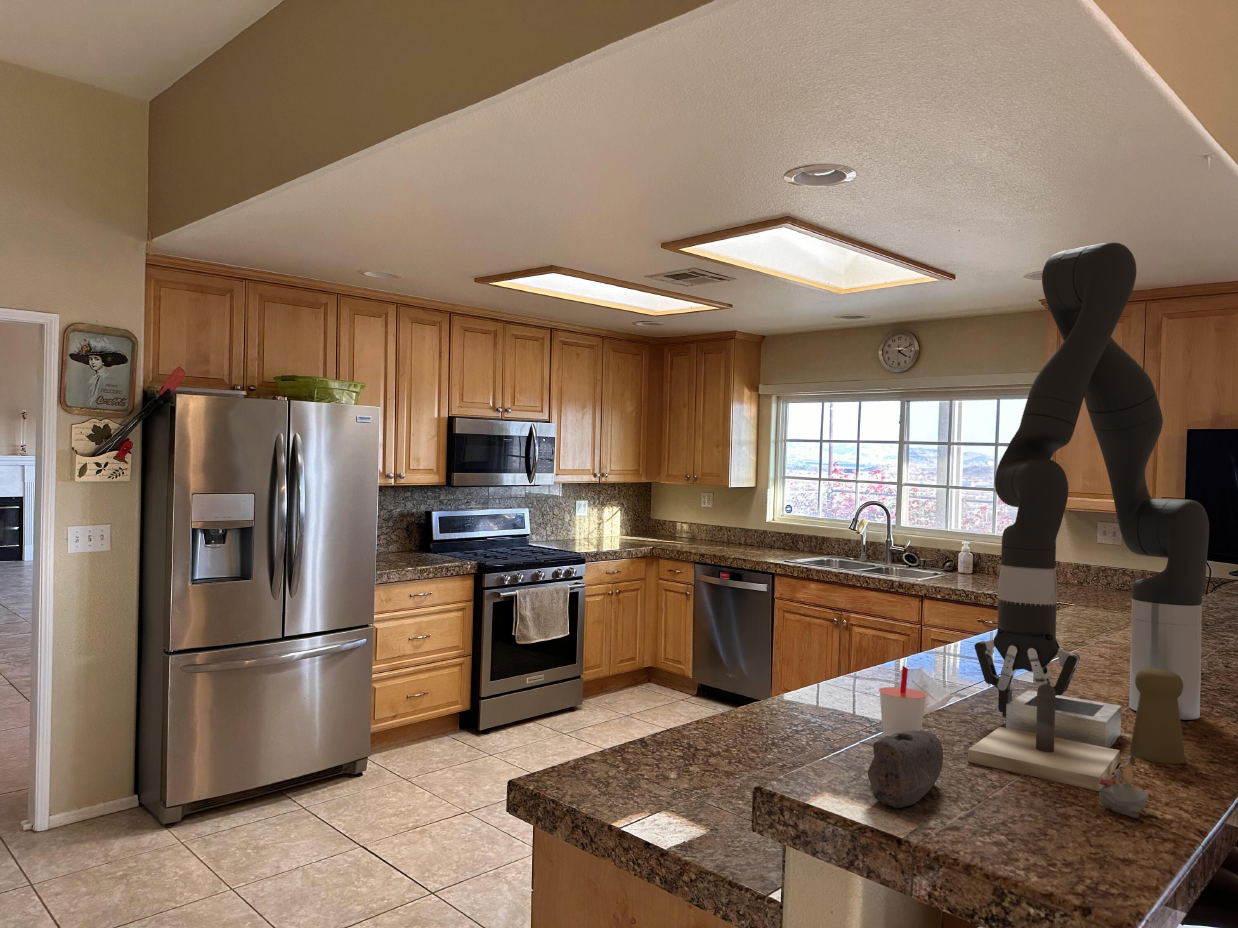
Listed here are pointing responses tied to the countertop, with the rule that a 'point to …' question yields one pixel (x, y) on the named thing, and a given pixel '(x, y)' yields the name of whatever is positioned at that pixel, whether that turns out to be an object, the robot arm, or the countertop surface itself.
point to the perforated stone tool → (905, 767)
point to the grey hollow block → (1069, 719)
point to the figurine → (1123, 792)
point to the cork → (1158, 717)
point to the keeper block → (1045, 751)
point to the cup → (901, 708)
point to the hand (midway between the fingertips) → (1023, 718)
